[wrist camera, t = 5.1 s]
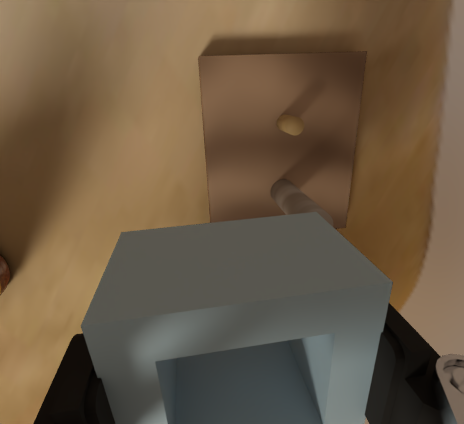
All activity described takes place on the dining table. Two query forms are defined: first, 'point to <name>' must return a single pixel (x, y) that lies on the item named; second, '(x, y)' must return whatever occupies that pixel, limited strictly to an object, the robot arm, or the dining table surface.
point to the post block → (280, 133)
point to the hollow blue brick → (238, 324)
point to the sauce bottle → (3, 275)
